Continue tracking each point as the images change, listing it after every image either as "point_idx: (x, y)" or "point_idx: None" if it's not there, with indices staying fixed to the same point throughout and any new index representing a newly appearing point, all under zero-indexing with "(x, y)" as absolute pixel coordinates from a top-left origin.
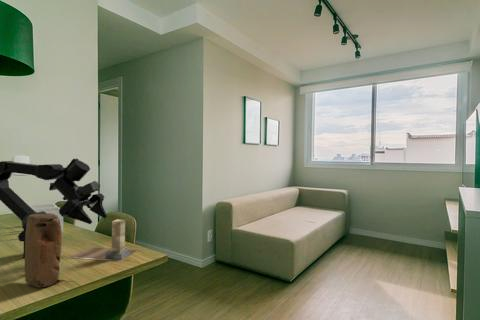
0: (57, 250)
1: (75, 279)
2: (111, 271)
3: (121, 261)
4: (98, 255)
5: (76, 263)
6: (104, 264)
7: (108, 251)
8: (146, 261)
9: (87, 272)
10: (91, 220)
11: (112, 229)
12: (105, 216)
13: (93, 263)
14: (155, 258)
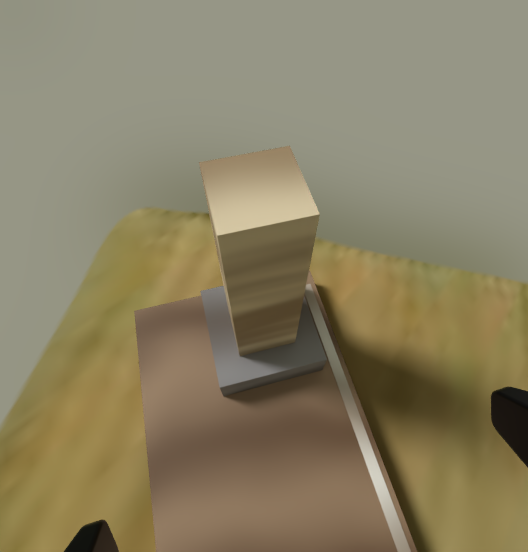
0: None
1: (516, 344)
2: (371, 276)
3: (309, 271)
4: (303, 459)
5: None
6: None
7: (296, 366)
8: None
9: (443, 360)
10: (515, 398)
11: (309, 260)
12: (105, 544)
13: None
14: (173, 217)
